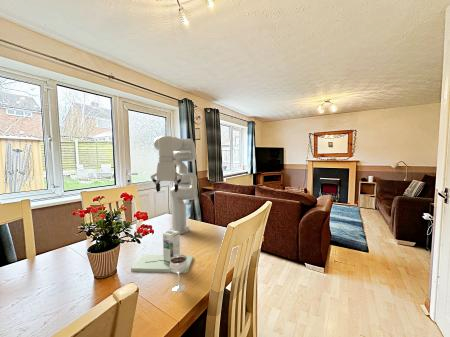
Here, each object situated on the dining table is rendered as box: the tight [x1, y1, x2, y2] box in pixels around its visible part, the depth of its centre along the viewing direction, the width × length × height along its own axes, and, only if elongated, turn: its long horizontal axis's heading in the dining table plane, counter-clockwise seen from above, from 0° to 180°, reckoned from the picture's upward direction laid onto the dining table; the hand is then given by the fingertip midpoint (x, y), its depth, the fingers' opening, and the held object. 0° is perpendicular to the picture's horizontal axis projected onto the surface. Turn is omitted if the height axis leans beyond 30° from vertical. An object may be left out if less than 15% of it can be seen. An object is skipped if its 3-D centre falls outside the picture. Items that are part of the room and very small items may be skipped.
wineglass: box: [170, 254, 187, 293], centre depth 77 cm, size 7×7×12 cm
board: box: [130, 254, 194, 274], centre depth 94 cm, size 12×26×2 cm, turn 87°
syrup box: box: [162, 229, 181, 265], centre depth 93 cm, size 6×6×14 cm
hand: (167, 191), depth 105 cm, fingers open, 9 cm apart
